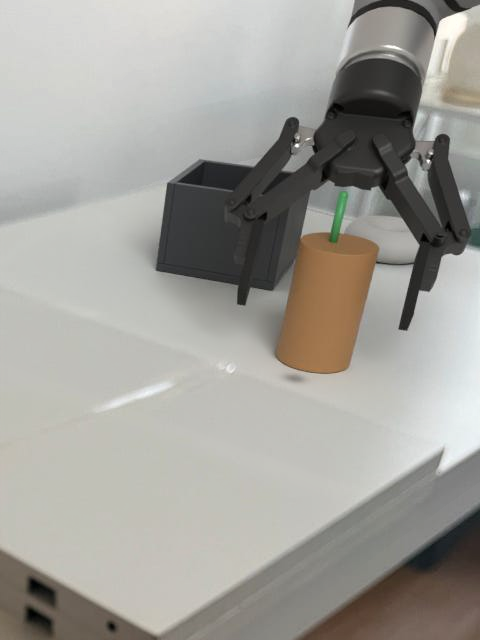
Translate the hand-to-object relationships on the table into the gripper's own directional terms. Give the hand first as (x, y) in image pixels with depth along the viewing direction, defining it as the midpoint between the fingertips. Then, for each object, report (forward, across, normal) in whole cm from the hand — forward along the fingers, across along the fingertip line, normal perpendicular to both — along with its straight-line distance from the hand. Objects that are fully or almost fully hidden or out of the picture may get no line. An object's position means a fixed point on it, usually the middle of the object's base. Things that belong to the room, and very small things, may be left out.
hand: (321, 310), depth 87 cm
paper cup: (+2, 0, -5) cm, 5 cm away
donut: (-24, -5, -31) cm, 39 cm away
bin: (-15, +11, -22) cm, 29 cm away
